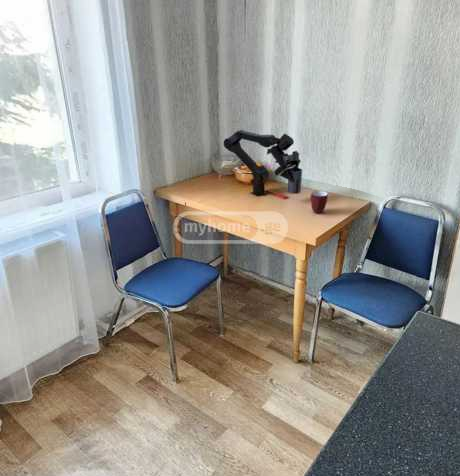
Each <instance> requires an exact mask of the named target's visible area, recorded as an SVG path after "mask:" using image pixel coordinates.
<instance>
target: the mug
mask: <svg viewBox="0 0 460 476" xmlns="http://www.w3.org/2000/svg"><path fill="white" fill-rule="evenodd" d="M328 197H329V193H328V192H327V191H324V190H313V191H311V194H310V205H311V209H312V212H313V213H314V214H318V215H319V214H322V213H323V212H324V210H325V208H326V205H327V202H328Z"/></svg>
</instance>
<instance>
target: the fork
mask: <svg viewBox="0 0 460 476" xmlns="http://www.w3.org/2000/svg"><path fill="white" fill-rule="evenodd" d="M265 192H266V193H267V192H268V193H270V194H272V195H274V196H275V197H278V198H281V199H283V200H286V199H288V198H289V196H287V195H284V194H283V193H280V192H276V191H273V190H271V189H267V188H266V189H265Z"/></svg>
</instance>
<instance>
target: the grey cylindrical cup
mask: <svg viewBox="0 0 460 476" xmlns="http://www.w3.org/2000/svg"><path fill="white" fill-rule="evenodd" d="M289 172H290V174H291V175H292V177H293V179H294V182H291V181H289V180H288V179H287V193H288V194H293V195H297V194H300V193H301V191H302V181H303V180H302V178H303V169H302V168H300V167H298V168H289Z"/></svg>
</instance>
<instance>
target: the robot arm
mask: <svg viewBox="0 0 460 476" xmlns="http://www.w3.org/2000/svg"><path fill="white" fill-rule="evenodd" d="M242 140H244V141H245V140H246V141H250V142H252V143H253V142H254V143H257V144H258V145H260V146H261V147H263V148H267V149H266V154H267V155H270V154H271V156H272V157H273V158H274V159H275V161H274V162H275V163H276V164H278V165H279V166H278V167H277V168H276V169H275V170H274V171H273V172H274V175H275V176H276V177H278V176H279V177H282V178H284V179H285V180H287V181H288V180H289V181H291V182H294V179H293V177H292V175H291V174H290V172H289V169H290V168H300V163H301V162H302V161H301V159H300V153H299V152H298V150H294V151H292V152H291V154H288V153H285V152H284V151H287V150H288V149H290V148H291V147H292V146H293V145H294V143H295V141H294V139H293V138H292V137H291V136H290V135H288V134H287V133H283V134H282V135H281V137H276V135H274V134H259V133H255V132H250V131H247V130H243V129H239V130H237V131H235V132H234V133H233V134H232V135H230V136H229V137H227V138H225V139H224V140H223V147H224V148H225V149H226V150H227V151H228V152H230V153H234V155H236V157H238V159H239V160H240V161H241V162H242V163H243V164H244V165H245V166H246V168H247V169H248V170H250V172H251V176H252V179H250V184H251V185H252V191H250V194H251V195H254V196H256V197H260V196H263V195H266V194H267V192H266V187H265V183H266V182H267V181H268V179H269V178H270V172H269V170H268V169H267V168H266V167H265V166H264V165H258V164H257V163H256V162H255V160H253V158H252V157H251V156H250V155H249V154H248V153H247V152H246V151H245V150H244V149H243V147H242V144H241V141H242Z"/></svg>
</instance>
